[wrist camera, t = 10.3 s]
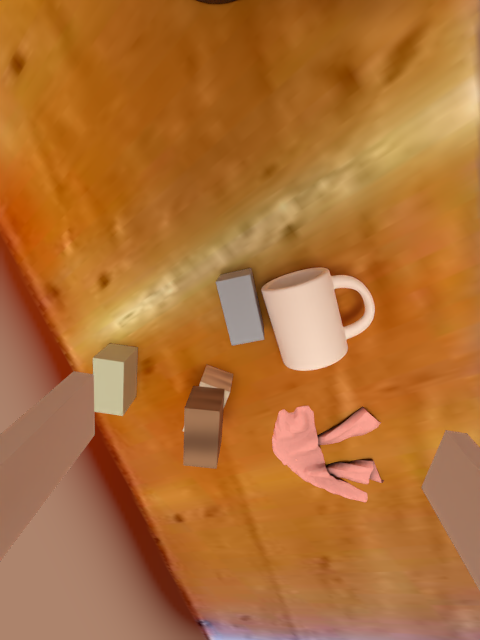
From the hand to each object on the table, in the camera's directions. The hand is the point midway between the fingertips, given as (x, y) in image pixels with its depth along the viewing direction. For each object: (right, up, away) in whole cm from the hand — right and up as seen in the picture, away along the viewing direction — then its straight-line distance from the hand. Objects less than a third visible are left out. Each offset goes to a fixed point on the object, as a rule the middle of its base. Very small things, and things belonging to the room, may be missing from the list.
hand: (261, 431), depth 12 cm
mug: (+9, +6, +30) cm, 32 cm away
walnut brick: (-5, -8, +30) cm, 32 cm away
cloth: (+15, -15, +37) cm, 43 cm away
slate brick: (0, +7, +30) cm, 31 cm away
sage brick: (-18, -3, +35) cm, 39 cm away
